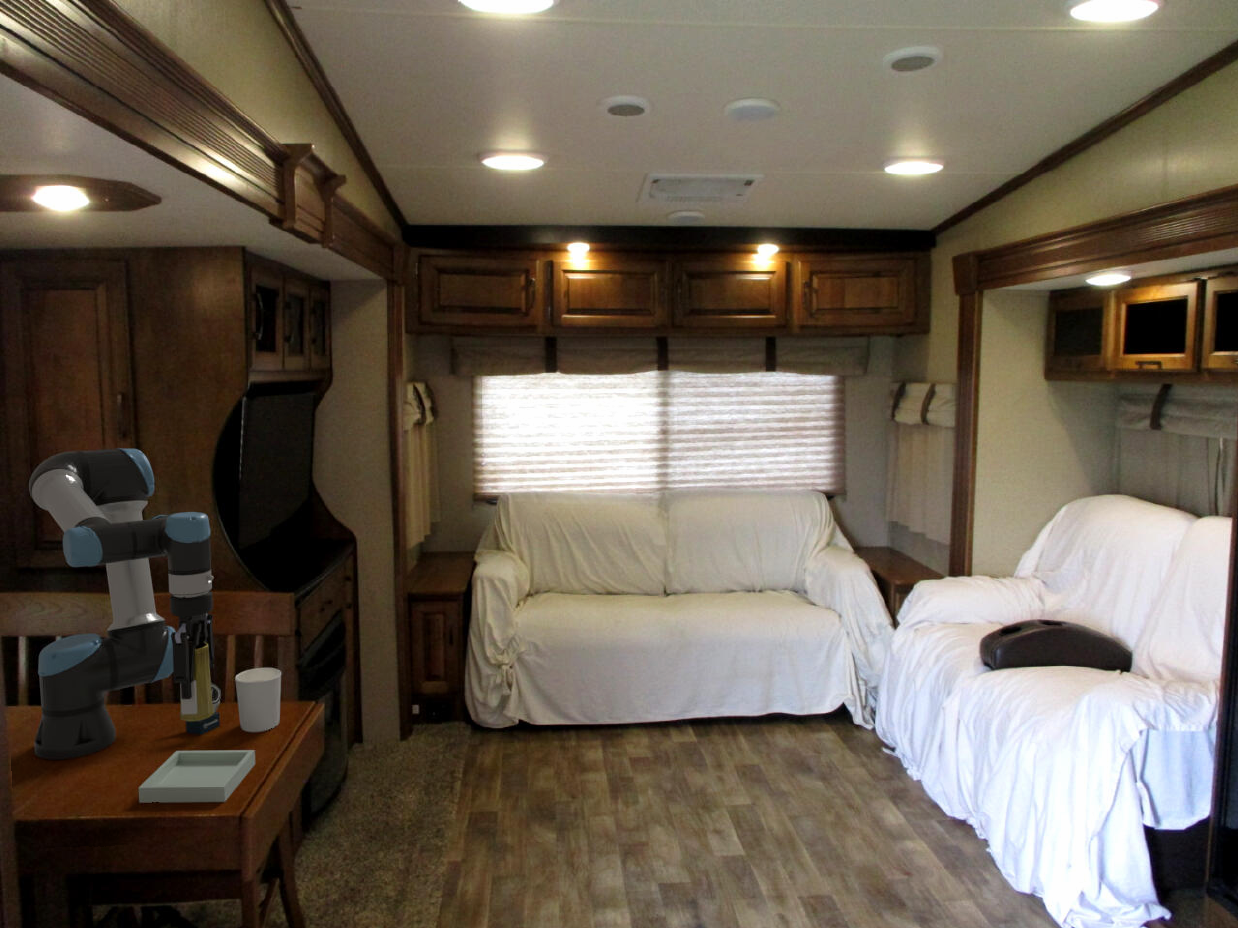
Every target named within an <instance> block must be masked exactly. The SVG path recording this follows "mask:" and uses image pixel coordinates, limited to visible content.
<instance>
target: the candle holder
mask: <svg viewBox="0 0 1238 928" xmlns="http://www.w3.org/2000/svg"><path fill="white" fill-rule="evenodd" d="M281 676H282V671H281V670H279V669H278V668H274V667H256V668H251V669H246V670H244V671H241V672H239V673H238V674H236V675H235V678H234V680H235V686H236V697H237V706H238V713H239V714H238V715H239V724H240V728H241V730H242V731H244V732H248V733H260V732H266V731H268V730H269V729H270V730H272V729H274V728H276V727H277V726H278V725H279V724H280V721H281V720H280V719H281V718H280V717H281V716H280V715H281V685H282V684H281V683H282V682H281V681H282V680H281V679H282V677H281ZM275 726H276V727H275ZM271 728H272V729H271Z"/></svg>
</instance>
